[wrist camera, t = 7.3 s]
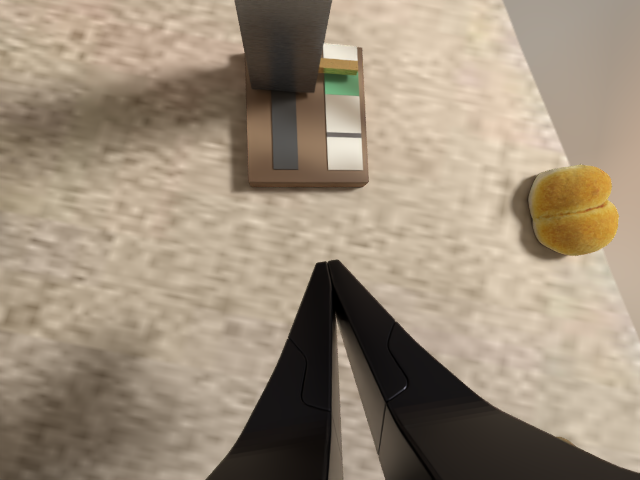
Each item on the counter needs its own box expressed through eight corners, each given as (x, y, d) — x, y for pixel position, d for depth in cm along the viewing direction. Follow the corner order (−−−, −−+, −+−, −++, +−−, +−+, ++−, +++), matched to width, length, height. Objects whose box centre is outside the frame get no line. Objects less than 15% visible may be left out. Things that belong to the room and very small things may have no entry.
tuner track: (363, 186, 22) (369, 181, 21) (250, 186, 21) (248, 181, 19) (356, 60, 23) (362, 46, 21) (247, 52, 22) (244, 36, 20)
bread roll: (535, 262, 25) (582, 264, 21) (515, 177, 25) (558, 164, 21) (599, 245, 26) (655, 244, 22) (579, 165, 26) (631, 149, 23)
